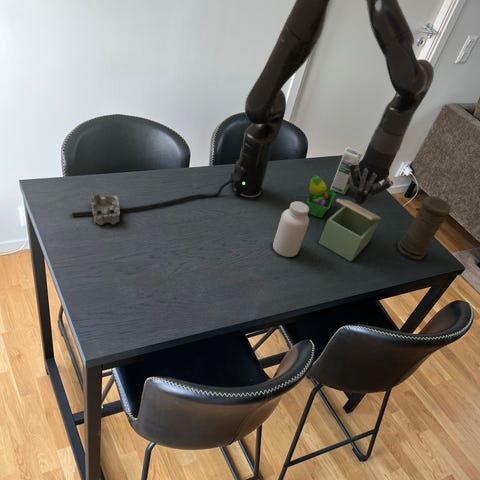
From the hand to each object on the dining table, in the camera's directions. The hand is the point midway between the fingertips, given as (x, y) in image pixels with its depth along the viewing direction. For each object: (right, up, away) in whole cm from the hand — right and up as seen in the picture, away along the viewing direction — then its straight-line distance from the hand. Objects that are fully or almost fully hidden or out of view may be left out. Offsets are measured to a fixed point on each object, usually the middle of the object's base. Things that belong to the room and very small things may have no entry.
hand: (358, 202), depth 131 cm
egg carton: (-72, -3, +2) cm, 72 cm away
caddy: (-1, -9, +15) cm, 17 cm away
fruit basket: (-8, +4, +25) cm, 26 cm away
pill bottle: (-20, -12, +7) cm, 25 cm away
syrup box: (+2, +14, +36) cm, 39 cm away
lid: (+1, -1, +6) cm, 6 cm away
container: (+21, -11, +19) cm, 31 cm away
